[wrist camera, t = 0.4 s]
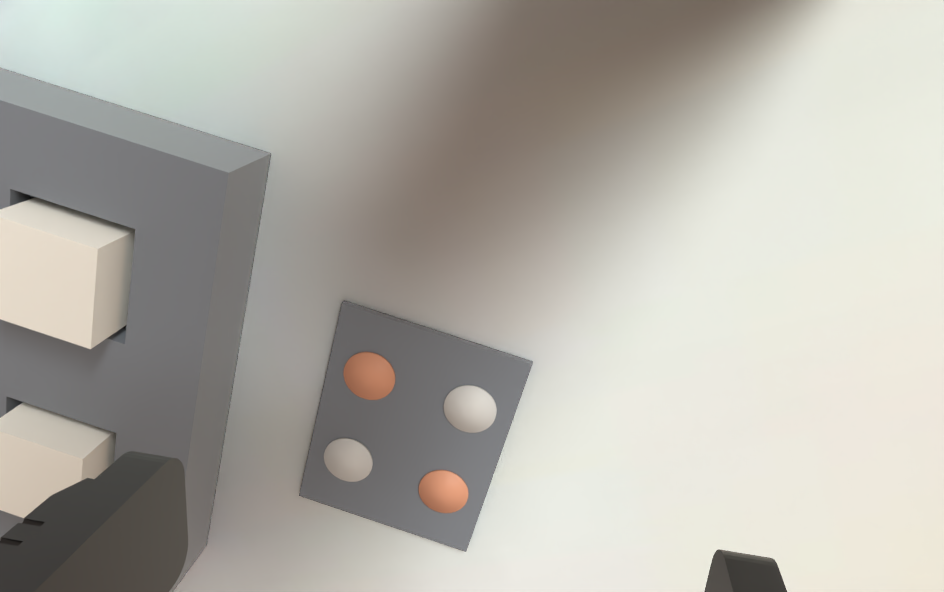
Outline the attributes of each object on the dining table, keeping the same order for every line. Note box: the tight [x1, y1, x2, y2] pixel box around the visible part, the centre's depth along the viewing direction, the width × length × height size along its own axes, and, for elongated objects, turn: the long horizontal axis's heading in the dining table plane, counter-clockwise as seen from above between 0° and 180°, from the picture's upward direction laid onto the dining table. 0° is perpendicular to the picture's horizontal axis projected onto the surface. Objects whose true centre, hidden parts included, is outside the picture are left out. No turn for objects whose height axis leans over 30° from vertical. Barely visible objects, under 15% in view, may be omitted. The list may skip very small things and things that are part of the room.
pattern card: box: [299, 301, 532, 552], centre depth 31 cm, size 10×8×1 cm
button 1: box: [0, 197, 135, 349], centre depth 27 cm, size 4×4×3 cm
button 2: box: [0, 402, 116, 518], centre depth 30 cm, size 4×4×3 cm
